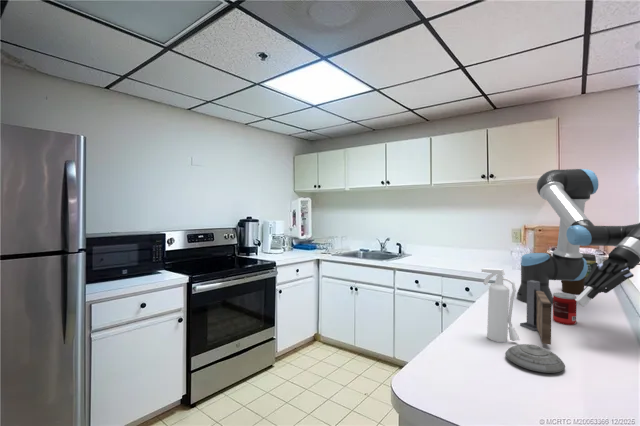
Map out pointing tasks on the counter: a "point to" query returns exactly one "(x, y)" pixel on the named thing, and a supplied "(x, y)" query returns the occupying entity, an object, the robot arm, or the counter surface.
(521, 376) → the counter surface
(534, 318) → the gate post
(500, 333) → the fire extinguisher
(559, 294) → the canned food
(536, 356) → the flying saucer
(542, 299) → the gate
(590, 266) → the coffee jar
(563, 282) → the olive oil
